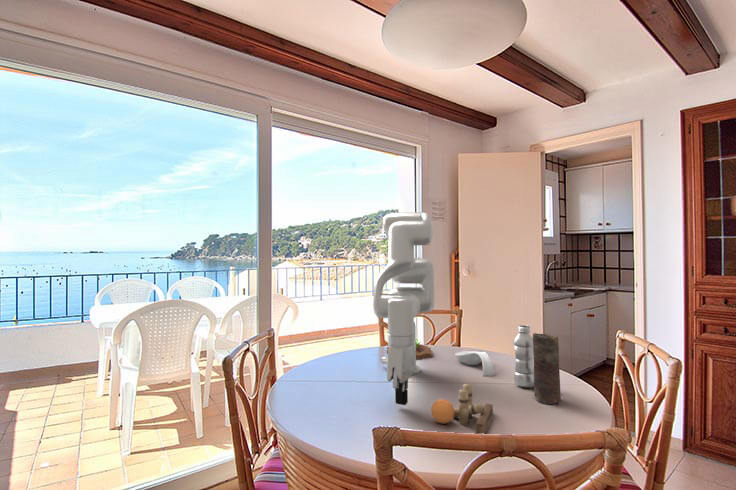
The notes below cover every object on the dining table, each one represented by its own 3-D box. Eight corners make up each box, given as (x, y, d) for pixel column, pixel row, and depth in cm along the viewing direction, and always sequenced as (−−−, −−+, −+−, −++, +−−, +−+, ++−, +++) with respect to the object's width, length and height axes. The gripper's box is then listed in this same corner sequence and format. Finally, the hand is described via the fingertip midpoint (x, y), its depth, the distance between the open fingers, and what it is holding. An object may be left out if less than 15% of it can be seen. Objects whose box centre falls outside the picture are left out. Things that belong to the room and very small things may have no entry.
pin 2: (458, 424, 105) (457, 391, 105) (460, 420, 108) (459, 388, 108) (467, 426, 104) (467, 393, 104) (469, 422, 106) (469, 390, 107)
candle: (529, 395, 125) (528, 331, 125) (551, 395, 126) (550, 331, 126) (542, 405, 117) (541, 337, 118) (565, 404, 118) (564, 336, 118)
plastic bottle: (537, 390, 130) (536, 328, 130) (515, 389, 131) (514, 328, 131) (533, 383, 136) (532, 324, 136) (512, 382, 137) (511, 324, 138)
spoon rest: (451, 359, 167) (451, 342, 167) (477, 358, 169) (477, 341, 169) (474, 378, 144) (474, 357, 144) (505, 376, 146) (505, 356, 146)
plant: (392, 362, 166) (392, 334, 166) (383, 350, 185) (383, 325, 185) (438, 359, 169) (438, 332, 169) (425, 348, 188) (424, 324, 188)
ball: (443, 431, 106) (425, 415, 108) (455, 413, 109) (437, 398, 111) (448, 425, 102) (429, 409, 104) (460, 406, 105) (441, 391, 107)
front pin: (449, 410, 109) (480, 405, 105) (451, 406, 111) (481, 401, 107) (453, 419, 108) (483, 414, 105) (455, 415, 111) (484, 410, 107)
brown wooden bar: (476, 433, 100) (476, 423, 100) (485, 412, 113) (485, 403, 113) (484, 434, 99) (484, 424, 99) (492, 413, 112) (492, 404, 112)
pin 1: (462, 417, 110) (462, 386, 110) (464, 413, 112) (464, 383, 112) (471, 418, 109) (471, 387, 109) (473, 415, 111) (473, 384, 111)
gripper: (398, 334, 125) (398, 393, 124) (378, 344, 111) (379, 410, 111) (421, 336, 121) (421, 396, 121) (404, 347, 108) (404, 415, 108)
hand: (401, 403), depth 116 cm, fingers closed
